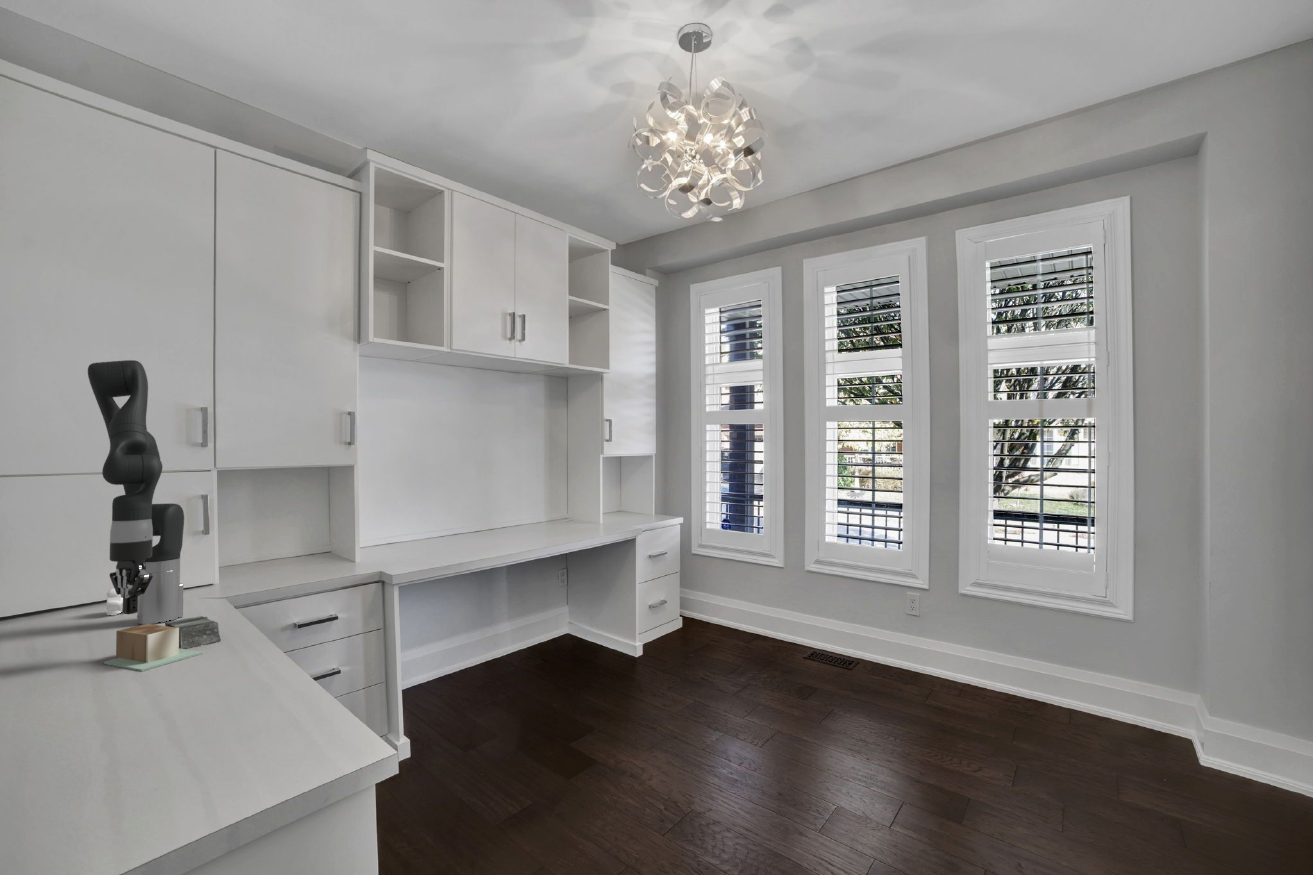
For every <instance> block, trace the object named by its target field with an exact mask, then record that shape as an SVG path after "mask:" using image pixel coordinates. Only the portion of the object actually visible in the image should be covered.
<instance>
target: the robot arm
mask: <svg viewBox="0 0 1313 875" xmlns="http://www.w3.org/2000/svg"><path fill="white" fill-rule="evenodd" d="M87 377H88V381H89V384H90V386H91V389H92V393H93V395H94V397H95V400H96V402H97V403H96V404H97V405H98V408H99V410H100V412H101V415H102V418H103V422H104V424H105V427H106V431H107V435H108V439H109V452H108V454H107V456H106V459H105V461H104V463H103V467H102V472H101V473H102V476H103V477H102V478H103V479H104V480H105V482H107V483H109V484H110V485H115V486H121V485H122V487H123V490H124V493H125V494H122V495H121V494H120V495H118V496H115V497H113V499H112V503H111V504H112V506H111V512H112V515H111V525H110V530H109V531H110V533H109V561H111V562H114V563H116V565H115V569H116V570H115V571H114V572H110V573H109V578H110V581H111V584H112V586H113V588H115V591H116V593H117V595H119V594H121V598H123V610H122V613H123V615H133V614H136V613H137V615H136V619H137V620H136V621H137V622H136V623H137V624H138V625H143V624H153V625H155V624H159V623H158V622H161V623H165V622H166V621H167V622H170V621H169V620H171V621H175V620H178V619H179V618H183V617H184V584H183V583H181V552H182V548H183V540H184V539H183V536H184V527H185V513H184V510H183V507H182V506H181V505H180V504H179V503H153V499H154V494H155V491H156V489H157V488H156V487H157V485H158V483H159V480H160V477H161V475H162V473H163V462H162V461H161V456H160V452H159V448H158V445H157V441H156V438H155V437H154V435H153V434H152V433H150V432H149V431H148V429H147V410H148V399H149V397H148V395H149V382H148V381H149V380H148V376H147V372H146V370H145V368H144V366H143V364H142V363H141V361H138V360H133V359H127V360H116V361H115V360H113V361H102V362H101V361H100V362H92V363H90V364H89V365H88V367H87ZM120 397H129V398H128V399H127V401H126V402H125V403H123V405H122V406H121V407H120V406H119V405H118V404H117V402H116V401H115V399H114V398H120ZM159 536H160V537H159ZM154 537H159V541H158V543H157V544H155V545H153V538H154ZM178 617H179V618H178Z"/></svg>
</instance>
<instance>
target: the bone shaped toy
mask: <svg viewBox="0 0 1313 875" xmlns="http://www.w3.org/2000/svg"><path fill="white" fill-rule="evenodd" d="M105 606H106V616H109V615H111V614H115V613H121V612H122V613H123V598H121V594H119V595H117V593H116V591H115V588H114V587H112V588H109V590H108V591H107V593H106V604H105ZM122 613H121V614H122Z"/></svg>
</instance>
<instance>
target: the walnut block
mask: <svg viewBox="0 0 1313 875" xmlns="http://www.w3.org/2000/svg"><path fill="white" fill-rule="evenodd" d="M115 637H116V639H115V642H116V643H115V644H116V645H115V657H116V658H124V659H130V660H136V661H141V662H146V663H150V662H153V661H157V660H160V659H164V658H168V657H171V656H175V655H178V654H179V628H175V627H167V626H165V625H160V624H159V625H158V624H138V625H135V626H131V627H127V628H123V629H119V630H116V636H115Z"/></svg>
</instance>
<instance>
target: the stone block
mask: <svg viewBox="0 0 1313 875" xmlns="http://www.w3.org/2000/svg"><path fill="white" fill-rule="evenodd" d="M164 626H167V627H175V628H179V648H181V649H187V650H190V649H193V647H194V648H197V647H202V646H201V645H203V646H207V645H210V644H212V643H215V642H217V643H220V642H222V640H221V635H220V630H219V629H220V628H219V622H217V621H214V620H212V619H210V618H208V616H202V615H201V616H195V617H186V618H183V619H182V618H181V619H175V620H171V621H167V622H164ZM206 644H207V645H206ZM215 644H216V643H215Z"/></svg>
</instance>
